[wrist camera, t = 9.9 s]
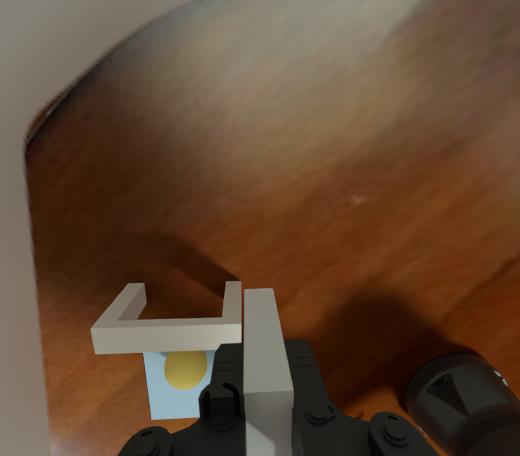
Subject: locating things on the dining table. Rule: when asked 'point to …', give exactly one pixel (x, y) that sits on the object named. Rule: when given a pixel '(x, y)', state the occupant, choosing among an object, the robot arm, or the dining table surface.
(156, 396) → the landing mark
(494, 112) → the dining table surface
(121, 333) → the bridge
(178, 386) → the ball
